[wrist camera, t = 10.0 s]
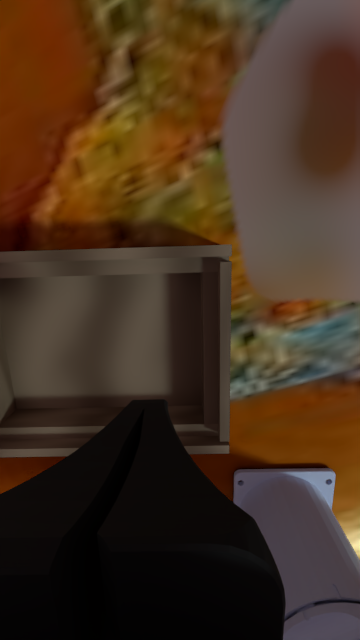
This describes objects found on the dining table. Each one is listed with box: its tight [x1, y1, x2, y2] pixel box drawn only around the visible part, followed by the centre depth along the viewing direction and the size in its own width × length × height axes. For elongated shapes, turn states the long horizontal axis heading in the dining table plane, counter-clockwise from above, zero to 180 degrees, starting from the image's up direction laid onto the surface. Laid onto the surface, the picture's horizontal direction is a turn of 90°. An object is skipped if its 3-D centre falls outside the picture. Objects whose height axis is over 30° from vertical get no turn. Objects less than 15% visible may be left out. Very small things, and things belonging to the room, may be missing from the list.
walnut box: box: [0, 245, 232, 457], centre depth 19 cm, size 17×13×4 cm
